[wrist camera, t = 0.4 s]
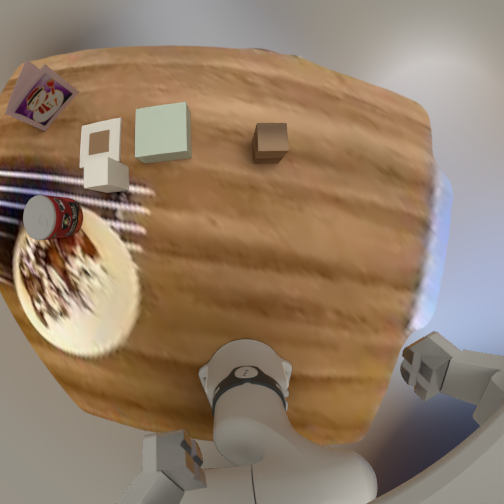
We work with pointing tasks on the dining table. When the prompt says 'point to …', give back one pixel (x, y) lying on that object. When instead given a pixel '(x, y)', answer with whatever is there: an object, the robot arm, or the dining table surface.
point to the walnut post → (270, 143)
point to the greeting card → (39, 96)
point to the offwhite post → (106, 175)
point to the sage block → (163, 133)
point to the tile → (101, 140)
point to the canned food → (52, 217)
